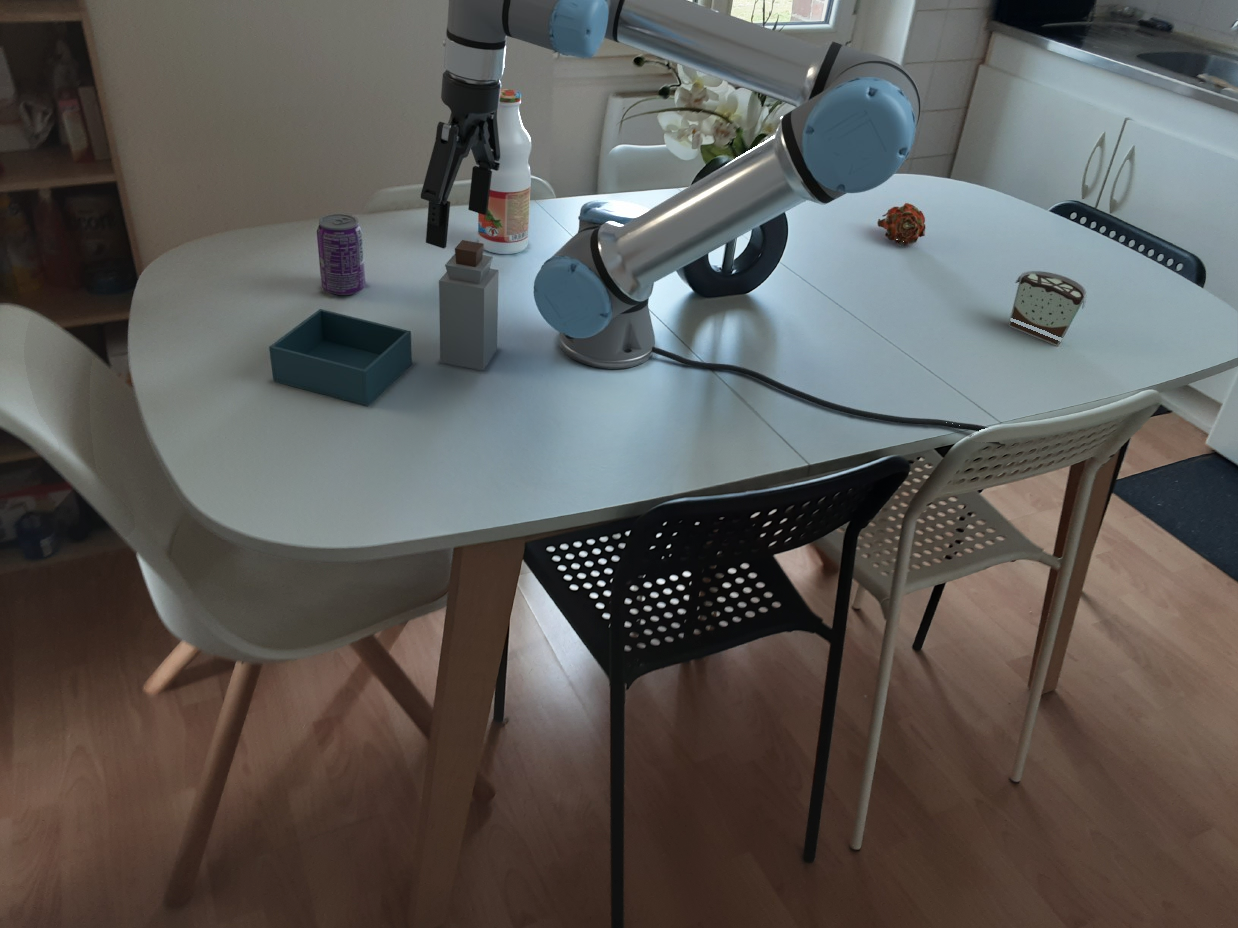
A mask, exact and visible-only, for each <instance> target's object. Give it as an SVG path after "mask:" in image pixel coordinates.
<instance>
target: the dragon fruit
mask: <svg viewBox="0 0 1238 928" xmlns="http://www.w3.org/2000/svg"><path fill="white" fill-rule="evenodd" d="M881 217H884V218H882V219H881V218H878V219H877V227H879V228H883V229H884V230H886V232H885V233H884V236H885V238H887V240H889V241H895V243H896V244H899V245H901V246H907V245H908V244H909V245H910V244H911V245H913V244H915V243H917V242H918V240H919V238H922V237H925V236H926V224H925V222H926V218H925V215H924V213H923V211H922V210H919V208H918V207H916V206H915V205H914V204H912V203H909V202H905V203H904V204H903V205H902V206H893V207H890V208H889V209H888V210H887V212H886V213H883V215H882V216H881ZM896 239H898V240H896ZM903 241H904V242H903Z"/></svg>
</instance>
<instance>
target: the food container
mask: <svg viewBox="0 0 1238 928" xmlns="http://www.w3.org/2000/svg"><path fill="white" fill-rule="evenodd" d="M1014 283H1015V284H1017V283H1018V285H1017V289H1016V293H1015V297H1014V302H1013V305H1012V309H1011V313H1010V317H1009V319H1010V318H1013V319H1016V320H1019V321H1021V322H1024V323H1026V324H1029V325H1032V326H1034V327H1037V328H1039V329H1042V330H1045V331H1047V332H1049V333H1051V334H1053V335H1056V336H1058V337H1061V338H1063V339H1064V337H1065V335H1066V333H1067V332H1068V330H1069V328H1070V327H1071V325H1072V322H1073V321H1074V319H1075V317H1076V315H1077V313H1078V312H1079V310H1080V308H1081V309H1082V310H1084V309H1085V307H1086V303H1087V297H1088V296H1087V290H1086V288H1085V287H1084V286H1083V285H1082V284H1081V283H1079V282H1077V280H1074V279H1071V278H1069V277H1068V276H1064V275H1062V274H1058V273H1054V272H1050V271H1043V270H1028V271H1024V272H1021V273H1020V275H1019V276H1018V277H1017V278H1016V280H1015V282H1014ZM1007 326H1008V327H1009V328H1012V329H1014V330H1016V331H1019V332H1021V333H1024V334H1026V335H1029V336H1031V337H1033V338H1035V339H1039V340H1041V341H1043V342H1045V343H1048V344H1051V345H1053V346H1056V347H1059V346H1060V345H1061V343H1062V341H1063V339H1062V340H1061V342H1060V341H1058V340H1055V339H1053V338H1050V337H1048V336H1045V335H1043V334H1040V333H1038V332H1036V331H1033V330H1031V329H1028V328H1026V327H1023V326H1021V325H1018V324H1016V323H1014V322H1011V321H1010V320H1009V322H1008V325H1007Z"/></svg>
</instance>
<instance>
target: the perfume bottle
mask: <svg viewBox="0 0 1238 928" xmlns="http://www.w3.org/2000/svg"><path fill="white" fill-rule="evenodd" d="M483 247H484V244H483V243H479V242H477V241H471V240H465V239H462V240H461V241H460V242H459V243H458V244H457V245H456V246H455V247H454V254H453V255H452V256H451V257H450V258H449V260H448V261H447V262H445V264H444V267H445V270H446V272H445V273H443V275H442V276H441V277H440V279H439V280H438V307H439V308H438V309H439V310H438V311H439V363H441V364H445V365H450V366H455V367H461V368H465V369H470V370H471V369H472V370H478V371H482V372H483V371H484V370H485V369H486V368H487V366H488V364H489V363H490V362H491V360H492V358H493V357H494V355H495V353H497V350H498V319H499V318H498V317H499V315H498V314H499V275H500V271H499V269H496V268H491V266H492V264H493V263H492V262H493V258H494V256H492V255H486V254H484V249H483Z"/></svg>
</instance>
